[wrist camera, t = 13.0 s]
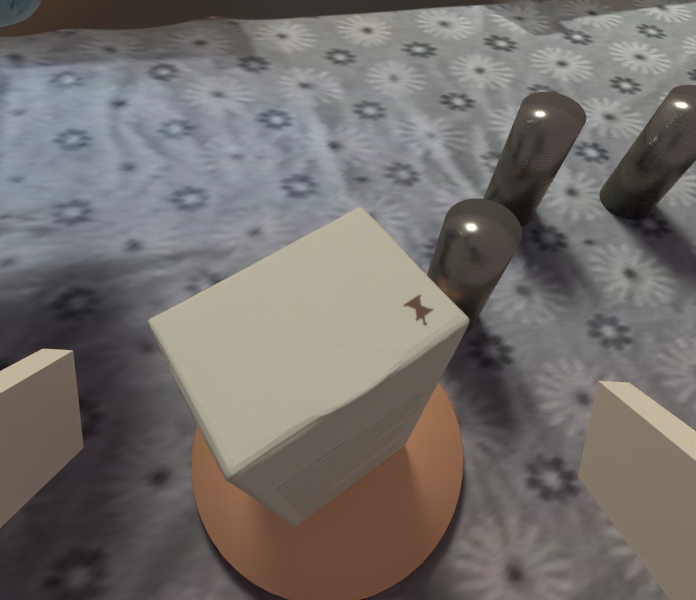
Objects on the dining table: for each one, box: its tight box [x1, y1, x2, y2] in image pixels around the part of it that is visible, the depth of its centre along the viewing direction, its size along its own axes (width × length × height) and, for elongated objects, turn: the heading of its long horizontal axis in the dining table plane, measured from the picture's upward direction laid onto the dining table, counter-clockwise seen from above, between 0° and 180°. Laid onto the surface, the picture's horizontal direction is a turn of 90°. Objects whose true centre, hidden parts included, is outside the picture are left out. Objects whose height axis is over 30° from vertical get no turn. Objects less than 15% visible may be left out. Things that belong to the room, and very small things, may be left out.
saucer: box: [191, 382, 463, 600], centre depth 20 cm, size 12×12×1 cm
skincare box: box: [148, 208, 469, 526], centre depth 15 cm, size 6×4×12 cm
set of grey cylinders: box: [427, 85, 696, 333], centre depth 22 cm, size 21×24×7 cm
